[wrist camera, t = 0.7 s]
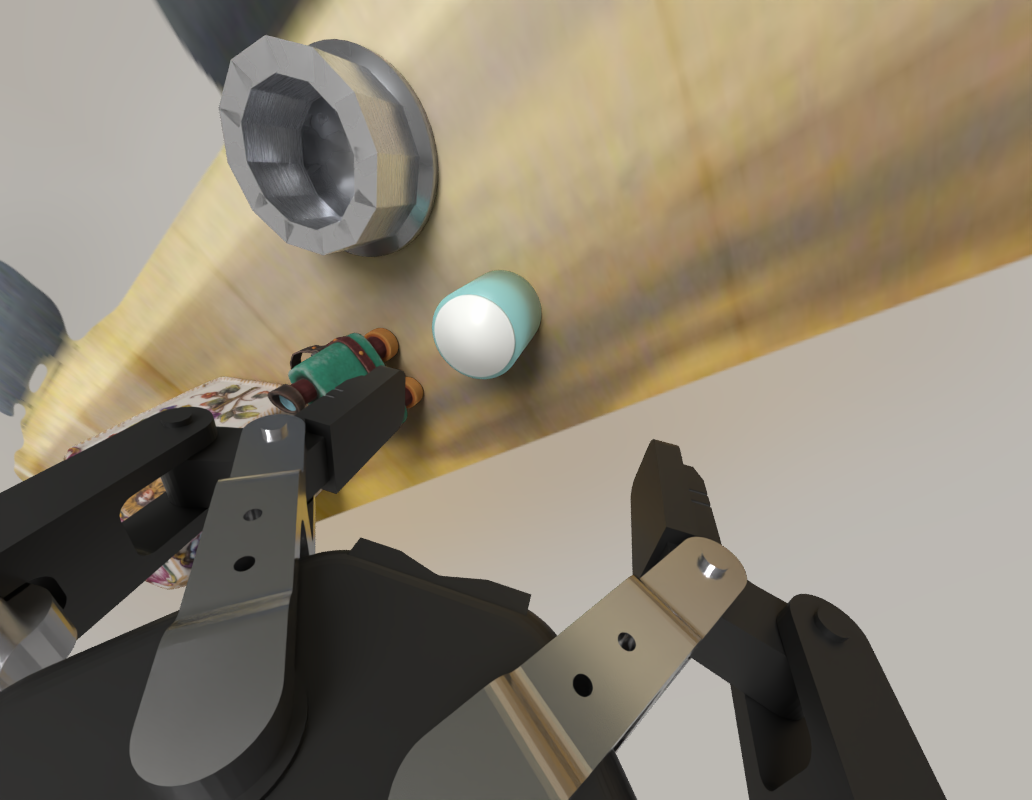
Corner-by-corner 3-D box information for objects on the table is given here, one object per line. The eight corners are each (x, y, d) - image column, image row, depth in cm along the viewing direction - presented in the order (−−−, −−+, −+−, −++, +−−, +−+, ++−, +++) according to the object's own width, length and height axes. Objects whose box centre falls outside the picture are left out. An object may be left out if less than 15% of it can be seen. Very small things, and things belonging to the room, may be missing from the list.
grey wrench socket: (391, 1, 21) (324, -45, 17) (463, 229, 26) (426, 239, 22) (249, 92, 26) (167, 75, 22) (333, 271, 31) (280, 287, 26)
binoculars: (203, 394, 28) (279, 367, 22) (318, 339, 36) (392, 310, 31) (278, 491, 31) (358, 486, 26) (367, 420, 39) (442, 406, 34)
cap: (529, 260, 26) (502, 279, 21) (550, 340, 28) (530, 374, 24) (455, 280, 28) (416, 302, 23) (480, 353, 31) (449, 386, 26)
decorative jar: (312, 386, 38) (93, 522, 23) (341, 477, 44) (180, 633, 29) (219, 372, 41) (-28, 485, 26) (257, 459, 47) (73, 592, 32)
